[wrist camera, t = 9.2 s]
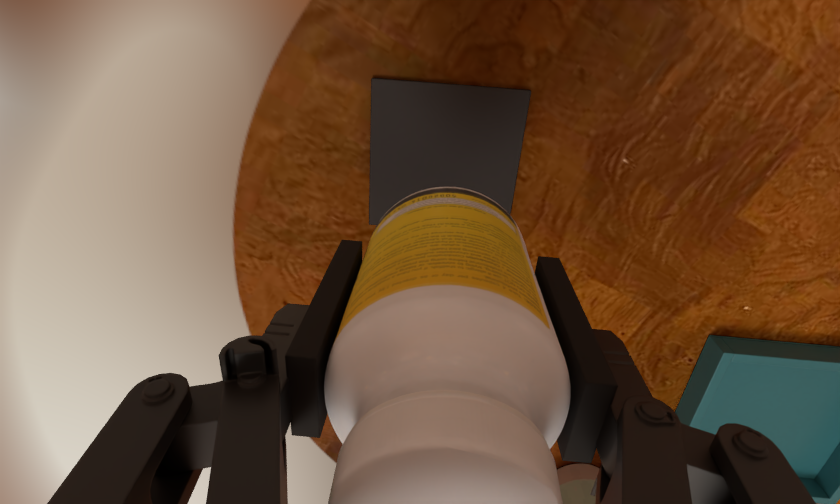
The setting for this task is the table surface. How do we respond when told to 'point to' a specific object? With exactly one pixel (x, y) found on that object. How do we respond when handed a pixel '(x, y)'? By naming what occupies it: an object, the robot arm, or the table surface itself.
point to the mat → (443, 140)
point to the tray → (773, 402)
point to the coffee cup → (577, 483)
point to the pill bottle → (446, 363)
